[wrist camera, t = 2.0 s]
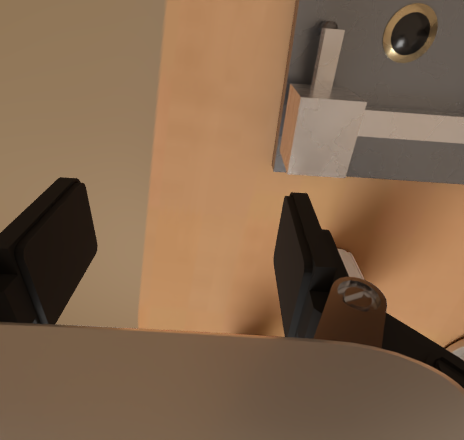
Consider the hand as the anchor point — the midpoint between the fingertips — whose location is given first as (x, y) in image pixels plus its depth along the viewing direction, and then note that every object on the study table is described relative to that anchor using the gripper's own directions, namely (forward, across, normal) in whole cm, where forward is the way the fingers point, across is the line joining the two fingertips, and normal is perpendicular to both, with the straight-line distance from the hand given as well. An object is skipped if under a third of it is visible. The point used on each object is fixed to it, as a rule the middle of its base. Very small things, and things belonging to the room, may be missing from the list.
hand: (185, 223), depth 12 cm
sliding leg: (+16, -7, -2) cm, 18 cm away
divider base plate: (+18, -16, -2) cm, 24 cm away
